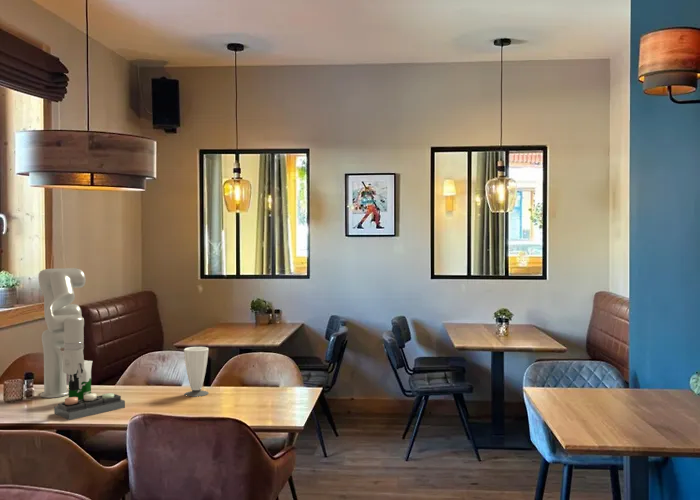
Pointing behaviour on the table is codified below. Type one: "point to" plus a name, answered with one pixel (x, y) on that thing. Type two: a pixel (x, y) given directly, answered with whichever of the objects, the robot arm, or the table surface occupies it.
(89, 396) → the button cream
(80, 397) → the milk carton
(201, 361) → the cup
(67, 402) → the button terracotta
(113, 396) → the button sage
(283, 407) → the table surface
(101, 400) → the panel
